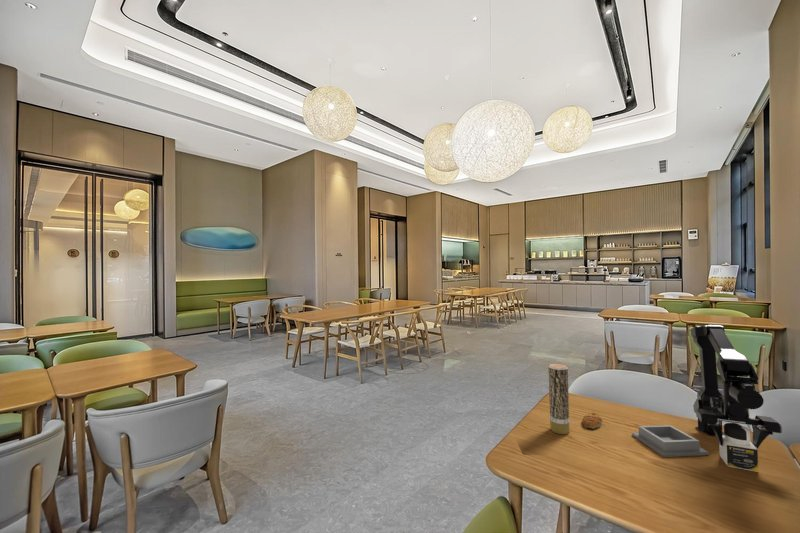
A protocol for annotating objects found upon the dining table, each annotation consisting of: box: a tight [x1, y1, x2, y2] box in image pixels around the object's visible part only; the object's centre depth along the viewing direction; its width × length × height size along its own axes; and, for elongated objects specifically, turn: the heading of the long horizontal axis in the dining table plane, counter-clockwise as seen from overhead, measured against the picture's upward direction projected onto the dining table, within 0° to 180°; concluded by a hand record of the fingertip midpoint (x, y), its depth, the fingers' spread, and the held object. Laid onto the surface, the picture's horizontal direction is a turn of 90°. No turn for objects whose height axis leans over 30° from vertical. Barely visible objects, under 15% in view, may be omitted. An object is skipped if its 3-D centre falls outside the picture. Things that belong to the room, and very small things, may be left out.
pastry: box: [582, 412, 603, 430], centre depth 138 cm, size 9×7×4 cm
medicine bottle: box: [718, 422, 759, 473], centre depth 109 cm, size 7×7×12 cm
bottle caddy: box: [631, 424, 709, 458], centre depth 122 cm, size 15×15×4 cm
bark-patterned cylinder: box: [548, 363, 570, 435], centre depth 134 cm, size 7×7×25 cm
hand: (737, 447), depth 109 cm, fingers open, 8 cm apart
